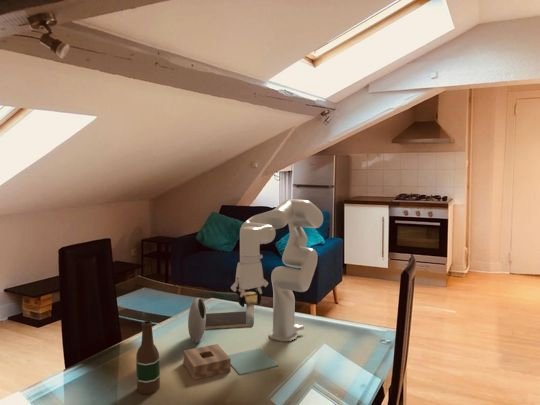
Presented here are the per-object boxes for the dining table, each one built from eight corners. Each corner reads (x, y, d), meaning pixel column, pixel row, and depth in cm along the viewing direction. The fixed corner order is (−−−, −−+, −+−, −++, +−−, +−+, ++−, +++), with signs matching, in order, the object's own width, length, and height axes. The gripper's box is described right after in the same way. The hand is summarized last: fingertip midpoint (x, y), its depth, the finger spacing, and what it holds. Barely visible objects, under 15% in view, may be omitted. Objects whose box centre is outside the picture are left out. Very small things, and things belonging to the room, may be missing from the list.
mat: (260, 349, 182) (260, 348, 182) (278, 365, 168) (278, 364, 168) (224, 356, 175) (224, 355, 175) (239, 375, 160) (239, 374, 160)
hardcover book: (253, 327, 206) (253, 322, 205) (204, 330, 201) (204, 325, 201) (249, 315, 221) (249, 310, 221) (203, 317, 217) (203, 313, 217)
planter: (202, 350, 180) (202, 306, 178) (185, 350, 180) (184, 306, 178) (208, 332, 198) (208, 292, 196) (192, 332, 198) (192, 292, 196)
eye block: (217, 355, 175) (217, 343, 175) (230, 371, 163) (230, 358, 162) (183, 363, 169) (183, 350, 169) (194, 379, 157) (194, 366, 156)
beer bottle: (139, 383, 154) (137, 318, 151) (161, 382, 155) (160, 317, 152) (134, 395, 146) (132, 326, 143) (158, 394, 147) (156, 326, 144)
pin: (253, 319, 174) (253, 290, 172) (260, 325, 168) (260, 295, 167) (239, 322, 171) (239, 293, 169) (246, 328, 166) (245, 297, 164)
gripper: (265, 254, 173) (265, 298, 176) (225, 259, 166) (225, 304, 168) (274, 258, 167) (274, 304, 169) (232, 264, 159) (232, 311, 161)
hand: (249, 304), depth 169 cm, fingers closed on pin, 6 cm apart
